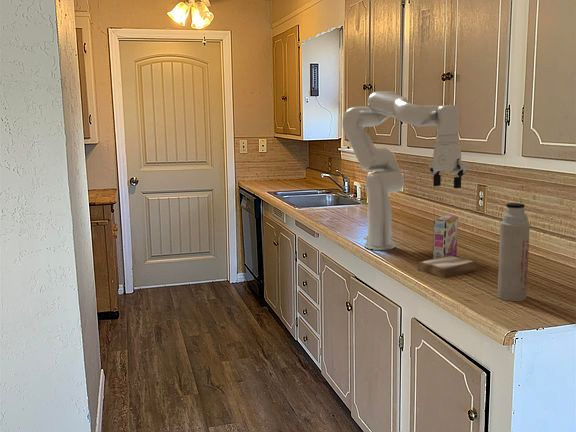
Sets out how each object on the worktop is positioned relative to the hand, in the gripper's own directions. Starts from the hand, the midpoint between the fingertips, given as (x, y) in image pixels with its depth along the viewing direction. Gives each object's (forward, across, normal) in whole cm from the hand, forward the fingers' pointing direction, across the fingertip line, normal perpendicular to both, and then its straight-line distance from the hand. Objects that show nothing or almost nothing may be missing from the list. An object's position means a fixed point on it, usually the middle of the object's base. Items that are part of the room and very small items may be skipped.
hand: (447, 187), depth 209 cm
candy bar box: (+28, 0, 0) cm, 28 cm away
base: (+28, +10, -10) cm, 31 cm away
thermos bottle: (+28, +42, -18) cm, 53 cm away
